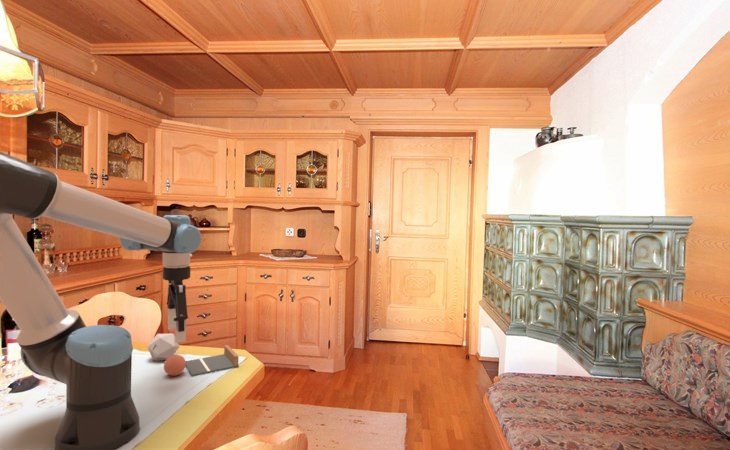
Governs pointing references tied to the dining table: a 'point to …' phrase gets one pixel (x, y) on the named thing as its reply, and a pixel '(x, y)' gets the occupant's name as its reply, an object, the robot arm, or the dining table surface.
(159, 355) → the die
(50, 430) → the dining table surface
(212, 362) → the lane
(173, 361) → the ball
